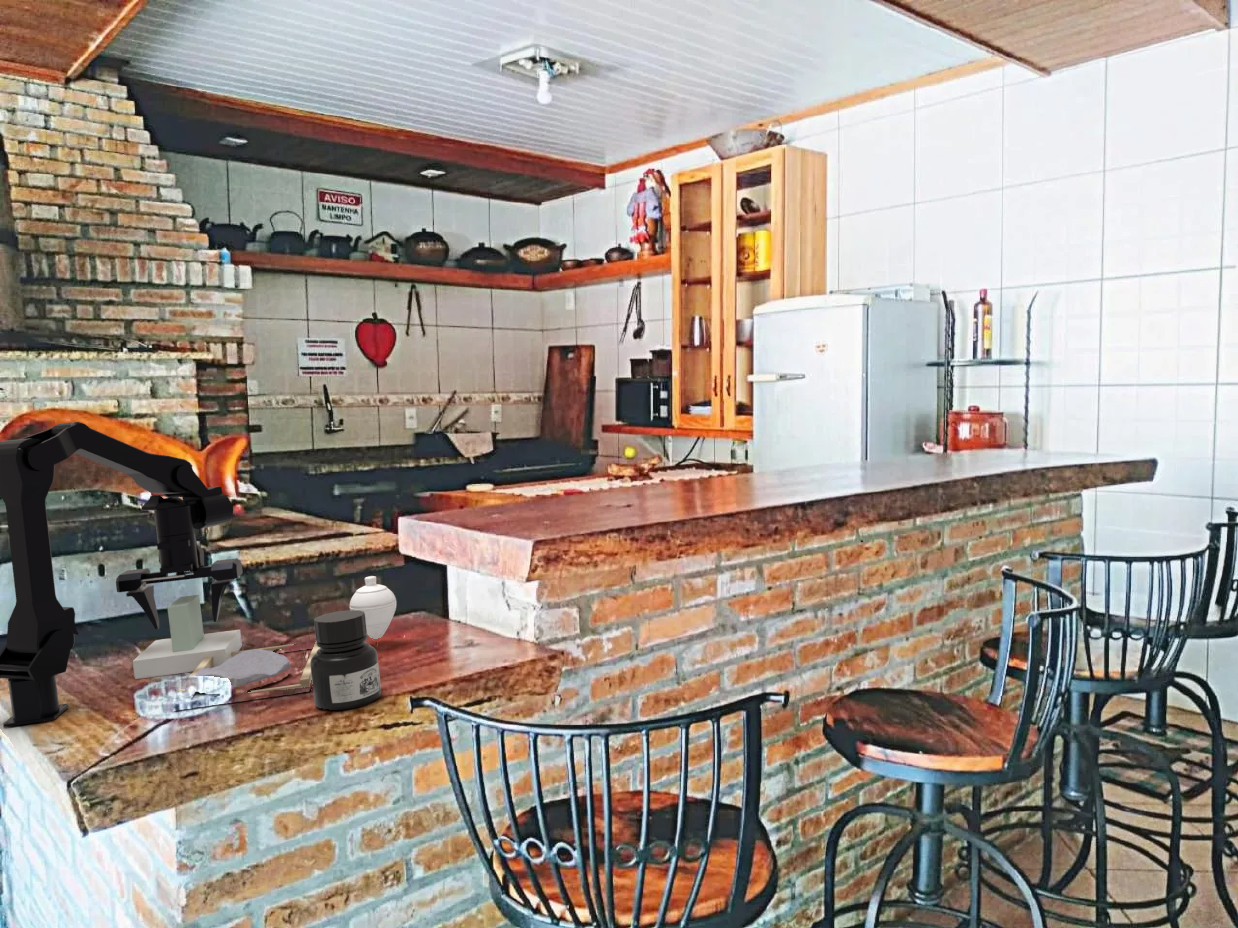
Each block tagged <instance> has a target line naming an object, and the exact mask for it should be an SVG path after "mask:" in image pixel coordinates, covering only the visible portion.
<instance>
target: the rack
mask: <svg viewBox="0 0 1238 928" xmlns="http://www.w3.org/2000/svg"><path fill="white" fill-rule="evenodd" d="M316 643H317V642H315V644H314V647H313V649H312V650H311V652H310V654H309V657H308V660H307V661H306V664H305V667H304V669H303V672H302V674H301V676H300V679H299V683H297V684H291V685H283V686H276V687H275V686H274V687H269V688H263V689H256V690H255V689H253V690H250V691H251V692H248V693H254V692H264V691H273V690H286V689H287V690H288V689H295V688H303V687H304V688H305V687H310V683H311V680H312V675H311V666H310V661H311V658H312V657H313V656H314V655H315V654H316V652H317V650H318V649H320V647H318V646H317V644H316ZM294 644H295V643H291V644H290V643H289V644H283V645H276V646H269V647H260V648H258V649H261V650H267V651H274V650H276V649H282V648H285V647H288V646H293V645H294ZM256 649H257V648H254V649H253V648H252V649H251V650H256ZM248 650H249V649H245V650H239V651H236V652H232V653H231V656H232V657H234V656H235V655H237V654H239V653H241V652H244V651H248ZM203 668H214V662H213V657H207V658H204V660H203V661H202V662H201V663H200V664H199V666H198V667H197V668H196V669H195V670H194V671H193V672H192V673H191V674H190V675H189V677H191V676H196V674H197V672H198V671H199V670H200V669H203ZM177 691H185V689H180V688H179V689H178V690H177Z"/></svg>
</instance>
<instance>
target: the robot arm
mask: <svg viewBox="0 0 1238 928" xmlns="http://www.w3.org/2000/svg"><path fill="white" fill-rule="evenodd" d="M73 454H74V455H78V456H80V457H82V458H84V459H88V460H89V461H92V462H95V463H97V464H100V465H103V466H105V467H107V468H110V469H113V470H116V472H117V471H118V472H120V473H123V474H125V475H126V476H129V477H130V478H131V479H132V480H133V481H134V483H136V485H137V486H139V487H141V488H142V489H143V490H146V491H147V492H148V493H151V494H153V495H150V497H149V498H148V500H147V501H146V502H145V503H144V504H143V505H142V506H141V511H143V512H145V511H146V512H149V511H151V512H152V511H153V512H154V514H153V515H154V521H155V529H156V538H157V539H156V540H157V543H156V549H157V550H158V562H159V564H160V568H159V571H155V572H151V571H150V568H147V567H146V568H138V569H137V568H136V569H130V570H125V571H124V572H122V573H120V574H119V575H118V576H116V579H115V585H116V586H115V587H116V593H125V592H126V594H125V596H126V597H128V598H129V597H132V598H133V599H134V600H135V601H136V603H137V604H138V605H139V607H140V608H141V609H142V610H143V612H144V614H145V615H146V616H147V618H148V620H149V621H150V623H151V625H152V626H153V627H154V629H155V630H159V629H160V618H159V614H158V609H157V605H156V600H155V589H154V588H155V585H151V584H157V583H169V582H176V581H186V580H194V579H204V578H210V577H211V578H212V579H214V580H213V581H212V583H211V584H210V589H211V590H210V592H211V593H210V594H211V595H210V596H211V597H210V598H211V611H212V612H211V615H212V619H213V622H214V623H217V622H218V619H219V615H220V610H221V605H222V602H223V597H224V594H225V591H226V589H227V586H228V585H231V584H232V583H233V582H234V581H235V580H236V579H238V578H239V577H241V576H242V575H243V563H242V561H241V560H240V559H239V558H237V557H236V558H235V557H234V558H227V559H219V560H216V561H214V562H213V563H212V564H211V565H207V566H205V552H204V551H205V550H204V549H203V548H202V547H201V546H199V544H198V542H197V538H196V537H197V536H196V535H195V530H201V529H207V528H210V527H217V526H220V525H225V524H228V523H229V522H230V521H231V520H232V517H233V516H234V504H233V503H232V502H231V499H230V498H229V497H228V495H226V494H225V493H223V488H222V486H210V487H207V486H206V485H205V483H204V482H203V480H201V479H200V477H199V476H198V474H197V473H196V472H195V471H194V469H193V465H192V463H191V462H190V461H189V460H187V459H186V458H185V459H184V458H181V457H175V456H171V455H166V454H164V455H163V454H156V453H150V452H147V451H145V450H142V449H140V448H137V447H135V446H133V445H131V444H128V443H125V442H124V441H121V440H120V439H117V438H115V437H112V436H110V435H107V434H105V433H104V432H103V433H102V432H100V431H98V430H96V429H94V428H91V427H90V426H89V425H87V424H85V423H83V422H80V421H73V422H62V423H57V424H55V425H54V426H52V427H50V428H48V429H45V430H43V431H39V432H37V433H34V434H31V435H29V436H25V437H22V438H19V439H11V440H10V439H8V440H3V441H1V440H0V498H1V499H2V502H4V505H5V513H6V521H7V529H8V538H9V547H10V558H11V565H12V573H13V583H14V592H15V593H14V594H15V605H14V608H13V610H12V612H11V615H10V616H9V619H8V622H7V630H6V631H7V632H6V644H5V645H3V648H2V649H1V650H0V680H1V679H5V680H6V679H7V683H8V690H9V691H8V692H9V698H10V706H11V713H12V716H11V717H10V718H8V719H7V720H6V721H4V723H2V725H3V726H2V727H3V728H7V727H15V726H16V727H17V726H21V725H28V724H35V723H44V722H49V721H51V722H52V721H54V720H56V719H57V718H58V717H60V715H61V714H62V713H63V712H65V711H66V710H67V709H68V708H69V706H70V705H69V703H63V704H62V703H61V704H60V703H59V702H60V701H59V693H58V686H57V678H56V676H57V675H59V674H63V673H65V672H67V669H68V665H69V664H68V663H69V659H70V652H71V650H73V648H74V646H75V636H78V635H79V632H78V629H77V628H76V611H75V608H74V607H73V606H72V607H71V606H62V604H61V603H60V601H59V600H58V598H57V595H56V586H55V578H54V577H55V575H54V569H53V568H54V567H53V566H54V565H53V559H52V548H51V541H50V539H51V538H50V532H49V531H50V530H49V521H48V514H47V505H46V501H47V500H46V499H47V497H48V495H49V493H50V490H51V487H52V486H53V483H54V480H55V465H57V464H59V463H61V462H63V461H65V460H67V459H69V458H70V457H71V456H72V455H73ZM163 496H164V497H165V498H164V497H163ZM174 573H175V574H174ZM169 574H174V575H169Z"/></svg>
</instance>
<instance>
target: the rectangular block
mask: <svg viewBox="0 0 1238 928" xmlns="http://www.w3.org/2000/svg"><path fill="white" fill-rule="evenodd" d="M200 601H201V600H200V595H199V594H196V595H194V594H193V595H187V596H186V595H183V596H180V597H178V598H177V599H176V600H175V601H174V602H173V603H171V604H169V606H168V607H167V614H168V615H167V616H168V622H169V623H168V624H169V632H170V638H171V641H172V649H173V652H180V651H187V650H193V649H194V648H195V646H196V645H197V644H198V643H199V642H200V641H201V640H202V639H203V638H204V634H205V633H204V625H203V617H202V609H201V602H200Z"/></svg>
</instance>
